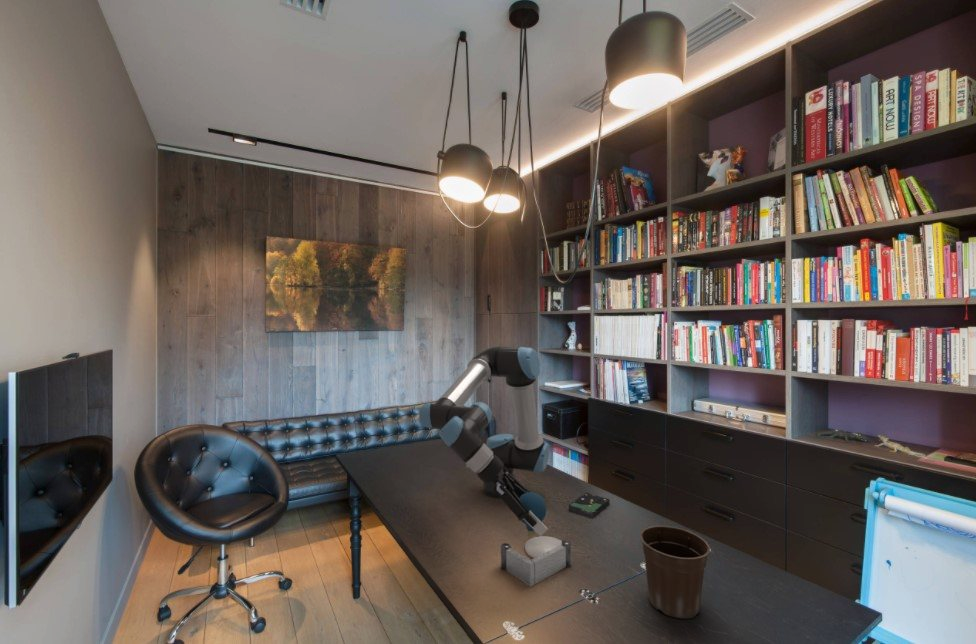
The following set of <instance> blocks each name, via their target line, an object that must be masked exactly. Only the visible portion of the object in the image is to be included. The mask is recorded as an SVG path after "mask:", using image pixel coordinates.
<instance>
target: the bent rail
mask: <svg viewBox="0 0 976 644" xmlns="http://www.w3.org/2000/svg"><path fill="white" fill-rule="evenodd" d="M561 541H562V544H561V545H559V546H557V547H555V548H553V549H551V550H549V551H547V552H546V553H544V554H542V555H540V556H538V557H536V558H534V559H533V558H531V559H529V558H527V557H526V556H525V555H523V554H521V553H520V552H518V551H516V550H514V549H513V548H511V545H510V543H506V542H505V543H501V545H500V569H502V570H503V571H507V572H508V573H509V574H511V575H512V576H514V577H515V578H517V579H518V580H519V581H521V582H523V583H524V584H525V585H527V586H528V587H530V588H531V587H533V586H535V585H536V584H538V583H540V582H542V581H544V580H546V579H547V578H548V577H550V576H552V575H555V574H556V573H558V572H559V571H560V570H563V569H565V568H569V567H571V566H572V542H571V541H570V540H568V539H566V540H565V539H564V540H561Z"/></svg>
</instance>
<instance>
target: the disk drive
mask: <svg viewBox="0 0 976 644" xmlns="http://www.w3.org/2000/svg"><path fill="white" fill-rule="evenodd" d="M610 502H611V501H610V498H607V497H603V496H600V495H592V493H589V492H585V493H583V494H582V495H580V496H579V497H577V498H576V499H575V500H573V501H572V502H570V503H569V504H568V511H570V512H573V513H574V514H579V515H581V516H585V517H587V518H591V519H594V518H595V517H597V516H598V515H599V514H601V512H602V511H604V510H605V509H606V508H607V507H609V506H610Z"/></svg>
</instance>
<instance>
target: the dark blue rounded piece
mask: <svg viewBox="0 0 976 644" xmlns="http://www.w3.org/2000/svg"><path fill="white" fill-rule="evenodd" d="M519 499H520V500H521V501H522V503H523V504H524V505H525V507H526V508H527V509H528V511H531V512H532V513H533V514H534V515H535V516H536V517H537V518H538V519H539V520H540V521H541V522H543V521H544V519H545V517H546V515H547V505H546V501H545V499H544V498H543V497H542V495H540V494H538V493H536V492H531V491H530V492H528V493H525V494H523V495H522V496H521V497H520V498H519ZM520 522H521V523H523V524H524V525H525V528H526V530H527V536H528V537H529V538H534V537H535V531H534V530H533V528H532V527H531V526H530V525H529V524H528V523H527V522H526V521H525V520H524V519H522V520H521V521H520Z"/></svg>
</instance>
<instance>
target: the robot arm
mask: <svg viewBox="0 0 976 644" xmlns="http://www.w3.org/2000/svg"><path fill="white" fill-rule="evenodd" d="M540 363H541V362H540V357H539V355H538V353H537V351H536V350H535V349H534V348H532V347H525V346H492V347H489V348H487V349H484V350H483V351H481V352H479V353H478V354H476V355H474V357H472V359H470V361H468V363H467V366H466V367H467V368H465V370H464V371H463V372H462V373H461V375H459V377H458V378H456V379H455V380H454V382H453V383H452V384H451V385H450V387H448V389H446V391H444V393H443V394H442V395H441V396H440V397H439V398H438V400H436V401H435V403H432V402H430V403H424V404H423V405H422V406H421V407H420V410H419V413H418V418H419V419H418V420H419V422H420V425H421V426H422V427H424V428H429V429H432V430H439V433H438V435H439V437H440V438H441V440H442V441H443V442H444V444H446V446H447V447H449V448H450V449H451V451H453V452H454V454H455V455H457V456H458V457H459V458H460V460H462V461H463V463H465V466H466V468H467V469H470V470H471V471H472V472H473V473H474V474H475V473H476V476H477V477H478V478H479V479H480V480H481V482H482V488H481V489H482V493H483V494H484V495H486V496H488V497H491V498H497V499H498V498H499V499H501V500H502V501H503V503H504V504H505V505H506V506H507V507H508V508H509V509H510V511H511V512H512V513H513V514H514V515H515V516H516V518H517V520H518V521H520V522H522V521H521V520H522V519H524V520H525V521H526V522H527V523H528V524H529V525H530V526H531V527H532V528H533V530H534V533H536V534H537V535H538V537H539V536H543V535H544V534H545V533H546V532H547V530H548V527H547V526H546V525H545V524H544V523H543V521H540V520H539V519H538V518H537V517H536V516H535V515H534V514H533V513H532V512H531V511H528V509H527V508H526V507H525V505H524V504H523V503H522V501H521V500H520V499H519V498H520V497H521V496H522V495H523V494H525V493H528V492H531V490H528V489H527V488H526V486H524V485H523V484H522V483H521V482H520V481H519V480H517V478H516V474H515V470H520V471H527V472H532V473H543V472H545V470H546V468H547V466H548V462H549V457H550V445H549V444H548V442H544V437H543V436H542V435H541V434H539V425H538V416H537V409H536V408H537V407H536V400H535V393H534V384H535V382H536V381H537V378H538V377H539V376H540V371H541V368H540V367H541V364H540ZM492 377H496V378H497V377H499V378H505V383H506V385H507V386H508V387H510V391H511V400H512V404H513V405H512V407H513V413H514V419H515V420H514V421H515V427H516V434H517V436H516V437H514V435H513V434H511V433H500V434H495V435H492V436H490V437H488V438H487V439H486V443H485V442H483V440H482V439H481V438H480V436H481V435H482V434H483V432H484V431H485V430H486V428H487V427H488V426H489V424H490V422H491V420H492V418H493V412H492V409H491V408H490V406H489V405H488V404H486V403H485V402H483V401H476V402H475V403H473V404H471V405H470V406H464V405H465V404H466V403H467V402H468V400H469V399H471V397H472V395H474V393H475V392H476V391H477V390H478V388H479V387H480V385H482V383H484V382H486V381H488V380H489V379H490V378H492Z"/></svg>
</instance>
